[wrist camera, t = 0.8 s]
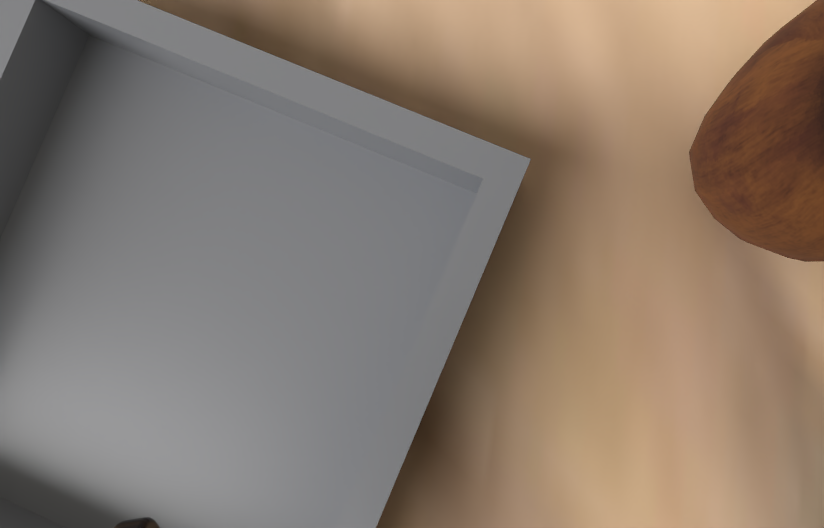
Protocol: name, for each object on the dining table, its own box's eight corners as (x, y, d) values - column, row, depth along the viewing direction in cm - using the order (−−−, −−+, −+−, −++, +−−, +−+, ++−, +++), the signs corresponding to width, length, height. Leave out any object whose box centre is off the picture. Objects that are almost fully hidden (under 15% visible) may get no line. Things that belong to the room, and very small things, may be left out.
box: (519, 180, 23) (530, 158, 20) (313, 670, 23) (287, 737, 19) (82, 2, 24) (20, -47, 21) (-120, 465, 24) (-219, 493, 20)
